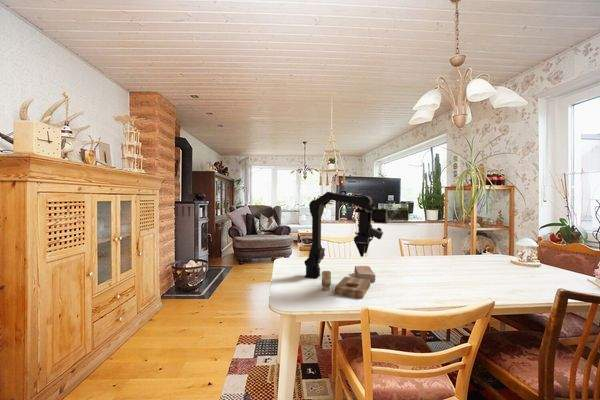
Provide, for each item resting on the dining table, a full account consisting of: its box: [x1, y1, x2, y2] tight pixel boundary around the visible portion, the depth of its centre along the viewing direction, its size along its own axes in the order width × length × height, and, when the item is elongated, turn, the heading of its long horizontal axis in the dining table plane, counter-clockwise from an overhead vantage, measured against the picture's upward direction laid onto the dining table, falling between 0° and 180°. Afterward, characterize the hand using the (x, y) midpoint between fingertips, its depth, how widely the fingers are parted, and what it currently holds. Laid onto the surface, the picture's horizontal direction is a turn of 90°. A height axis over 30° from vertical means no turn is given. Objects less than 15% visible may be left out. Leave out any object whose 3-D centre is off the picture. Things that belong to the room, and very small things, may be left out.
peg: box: [321, 270, 332, 292], centre depth 127 cm, size 4×4×8 cm
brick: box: [353, 265, 376, 284], centre depth 147 cm, size 17×8×5 cm, turn 177°
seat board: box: [333, 276, 371, 300], centre depth 127 cm, size 12×18×3 cm, turn 157°
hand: (363, 254), depth 136 cm, fingers open, 9 cm apart
